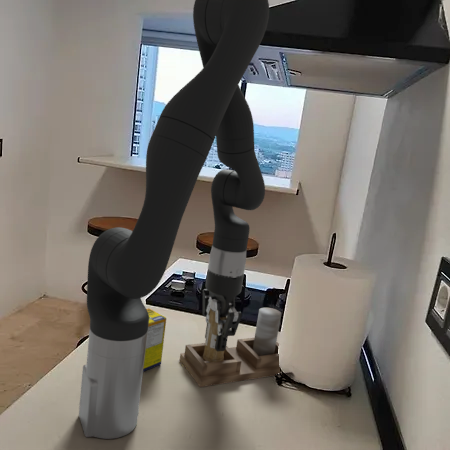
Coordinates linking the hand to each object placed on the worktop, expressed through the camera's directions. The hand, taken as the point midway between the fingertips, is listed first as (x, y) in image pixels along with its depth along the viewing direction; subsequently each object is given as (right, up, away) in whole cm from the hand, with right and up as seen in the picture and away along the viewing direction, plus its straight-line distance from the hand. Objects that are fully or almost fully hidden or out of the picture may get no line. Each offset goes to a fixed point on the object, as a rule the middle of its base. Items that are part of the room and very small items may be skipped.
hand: (215, 344), depth 98 cm
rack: (+5, -6, +4) cm, 9 cm away
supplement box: (-16, -4, 0) cm, 16 cm away
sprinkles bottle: (0, -3, +1) cm, 3 cm away
